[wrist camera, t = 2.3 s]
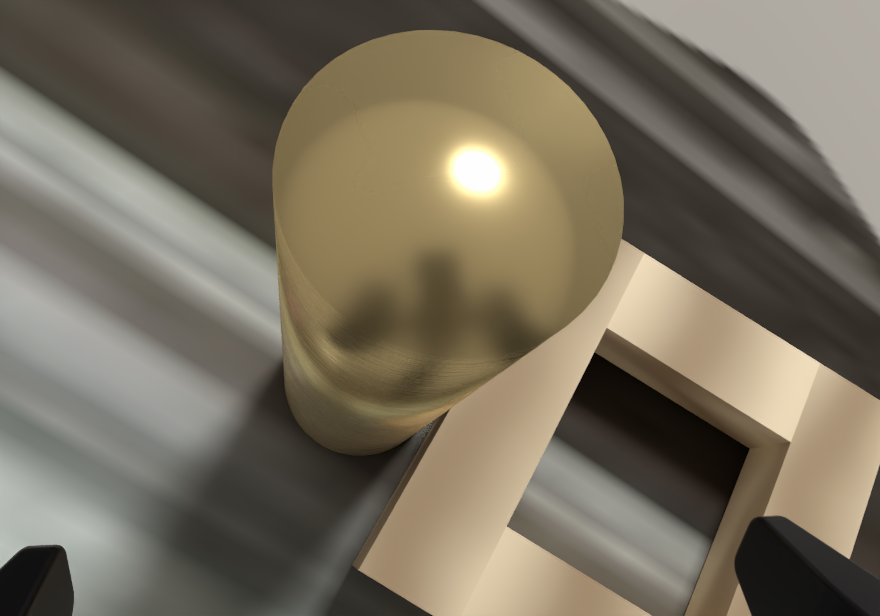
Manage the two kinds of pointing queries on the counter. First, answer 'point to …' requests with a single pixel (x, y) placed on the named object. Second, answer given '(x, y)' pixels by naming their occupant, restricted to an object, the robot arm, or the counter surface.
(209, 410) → the counter surface
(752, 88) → the counter surface
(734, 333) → the jig
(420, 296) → the brass cylinder peg
